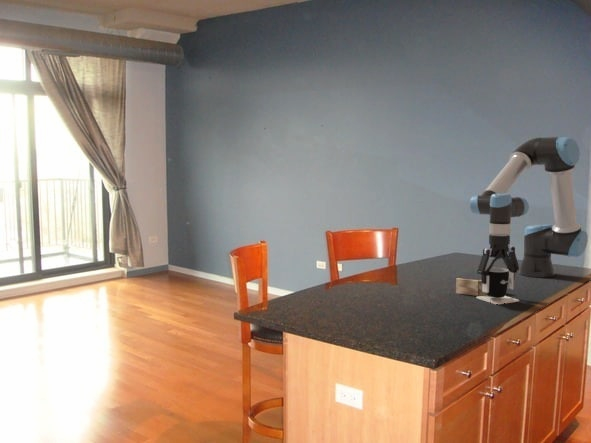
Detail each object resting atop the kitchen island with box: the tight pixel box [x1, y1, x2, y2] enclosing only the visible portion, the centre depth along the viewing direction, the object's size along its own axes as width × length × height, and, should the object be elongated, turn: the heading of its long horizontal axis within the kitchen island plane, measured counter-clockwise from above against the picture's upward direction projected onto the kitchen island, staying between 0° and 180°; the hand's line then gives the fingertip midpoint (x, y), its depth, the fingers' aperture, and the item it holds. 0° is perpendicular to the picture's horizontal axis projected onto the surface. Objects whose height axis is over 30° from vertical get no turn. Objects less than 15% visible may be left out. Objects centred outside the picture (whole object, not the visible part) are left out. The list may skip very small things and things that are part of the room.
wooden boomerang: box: [455, 277, 487, 297], centre depth 232 cm, size 18×8×6 cm, turn 114°
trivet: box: [476, 295, 520, 305], centre depth 221 cm, size 11×11×1 cm
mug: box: [487, 266, 510, 298], centre depth 221 cm, size 12×9×10 cm
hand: (497, 290), depth 221 cm, fingers closed on mug, 11 cm apart
